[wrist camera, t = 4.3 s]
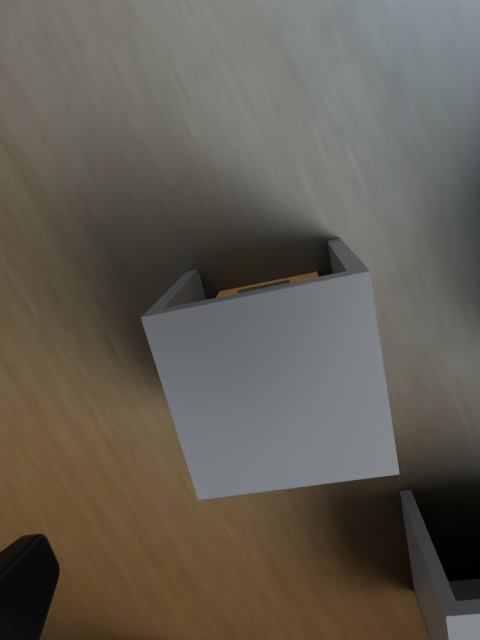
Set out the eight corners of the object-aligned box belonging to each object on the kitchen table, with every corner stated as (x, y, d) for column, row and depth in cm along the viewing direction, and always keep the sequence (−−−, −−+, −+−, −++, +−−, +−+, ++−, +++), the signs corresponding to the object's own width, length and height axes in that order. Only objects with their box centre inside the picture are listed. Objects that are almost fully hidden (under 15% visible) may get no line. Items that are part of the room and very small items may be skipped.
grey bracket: (363, 381, 18) (399, 474, 13) (222, 405, 19) (198, 499, 14) (340, 238, 17) (369, 270, 11) (186, 271, 18) (140, 317, 12)
